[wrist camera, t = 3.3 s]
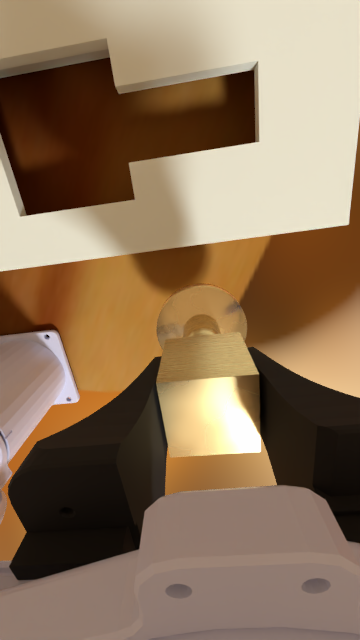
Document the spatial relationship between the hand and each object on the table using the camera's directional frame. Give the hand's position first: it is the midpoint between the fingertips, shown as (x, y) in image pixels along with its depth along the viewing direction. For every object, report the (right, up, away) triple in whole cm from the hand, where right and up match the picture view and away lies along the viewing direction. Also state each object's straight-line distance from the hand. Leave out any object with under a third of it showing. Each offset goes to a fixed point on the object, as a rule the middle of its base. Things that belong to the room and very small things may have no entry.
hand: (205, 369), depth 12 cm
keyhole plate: (-3, +15, +6) cm, 16 cm away
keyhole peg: (0, +2, +5) cm, 6 cm away
